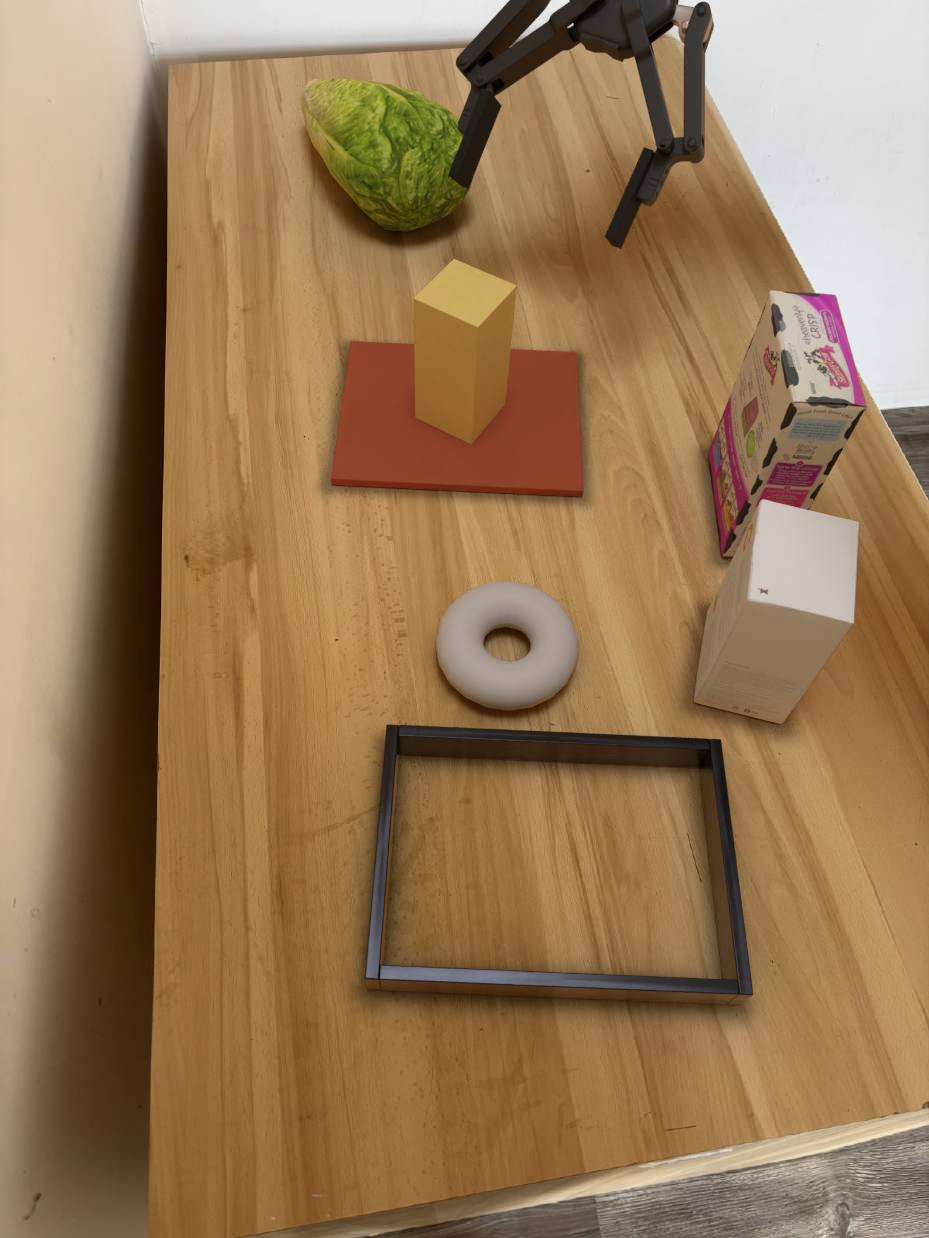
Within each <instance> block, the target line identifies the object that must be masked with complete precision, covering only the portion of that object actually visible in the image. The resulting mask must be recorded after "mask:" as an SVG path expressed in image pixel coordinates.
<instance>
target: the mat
mask: <svg viewBox="0 0 929 1238" xmlns="http://www.w3.org/2000/svg"><path fill="white" fill-rule="evenodd" d="M348 350H349V351H348V356H347V358H348V359H347V365H346V371H345V379H344V385H343V393H342V398H341V406H340V411H339V412H340V413H339V420H338V421H339V422H338V427H337V434H336V440H335V441H336V442H335V448H334V455H333V461H332V469H331V476H330V481H331V485H332V486H348V487H365V488H366V487H367V488H368V487H369V488H388V489H409V490H411V489H412V490H433V491H450V492H452V491H453V492H474V493H493V494H494V493H495V494H512V495H513V494H515V495H516V494H517V495H536V496H537V495H538V496H558V497H578V498H579V497H580V498H581V497H583V493H584V478H583V477H584V476H583V460H582V458H583V457H582V453H583V452H582V435H581V433H582V431H581V414H580V413H581V412H580V391H579V370H578V368H579V367H578V353H577V352H576V351H563V350H561V351H560V350H541V349H539V350H538V349H523V348H522V349H519V348H511V351H510V361H509V371H508V382H507V392H506V402H505V406H504V407H503V408H502V409H501V410H500V411H499V413H498V414H497V415H496V416H495V417H494V418H493V420H492V421H491V422H490V423H489V424H488V426H487V427H486V428H485V429H484V430H483V431H482V433H481V434H480V435H479V436H478V437H477V439H476V440H475V441H474V442H473V443H472V444H469V443H467V442H465V441H463V440H461V439H459V438H457V437H454V436H452V435H450V434H448V433H446V432H444V431H442V430H440V429H438V428H436V427H434V426H432V425H430V424H428V423H426V422H423V421H421V420H419V419H417V418H416V417H415V359H414V343H402V342H401V343H399V342H377V341H358V340H350V345H349V349H348Z"/></svg>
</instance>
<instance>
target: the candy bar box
mask: <svg viewBox="0 0 929 1238" xmlns="http://www.w3.org/2000/svg"><path fill="white" fill-rule="evenodd" d="M867 408H868V405H867V400H866V397H865V393H864V390H863V387H862V383H861V380H860V377H859V373H858V370H857V366H856V363H855V359H854V355H853V351H852V348H851V344H850V341H849V337H848V334H847V330H846V327H845V322H844V319H843V315H842V312H841V309H840V305H839V300H838V297H837V295H836V294H832V293H818V292H799V291H798V292H796V291H787V290H783V291H782V290H770V291H769V292H768V296H767V298H766V302H765V304H764V306H763V309H762V312H761V314H760V318H759V320H758V322H757V325H756V327H755V329H754V333H753V335H752V337H751V340H750V342H749V345H748V347H747V350H746V353H745V356H744V358H743V360H742V363H741V366H740V368H739V372H738V374H737V376H736V379H735V382H734V385H733V388H732V390H731V393H730V395H729V398H728V400H727V403H726V405H725V408H724V410H723V413H722V416H721V418H720V421H719V423H718V426H717V429H716V432H715V433H714V438H713V440H712V442H711V444H710V447H709V449H708V452H707V455H708V457H707V458H708V462H709V470H710V476H711V483H712V490H713V498H714V505H715V513H716V522H717V528H718V536H719V543H720V551H721V552H720V553H721V557H723V558H729V559H730V558H731V559H733V557H734V555H735V553H736V551H737V549H738V546H739V544H740V542H741V540H742V538H743V536H744V534H745V532H746V530H747V528H748V526H749V523H750V521H751V519H752V517H753V515H754V513H755V511H756V509H757V507H758V505H759V503H760V501H761V500H762V499H765V500H768V501H772V502H776V503H781V504H785V505H789V506H793V507H797V508H802V509H806V510H810V508H811V507H812V505H813V504H814V502H815V500H816V498H817V496H818V494H819V492H820V490H821V488H822V487H823V485H824V483H825V482H826V480H827V479H828V477H829V475H830V473H831V471H832V469H833V468H834V466H835V464H836V463H837V461H838V459H839V457H840V456H841V453H842V452H843V450H844V448H845V446H846V445H847V443H848V441H849V440H850V437H851V435H852V434H853V433H854V431H855V429H856V427H857V425H858V423H859V421H860V419H861V418H862V416H863V414H864V413H865V411H866V410H867Z"/></svg>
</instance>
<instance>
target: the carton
mask: <svg viewBox="0 0 929 1238" xmlns="http://www.w3.org/2000/svg"><path fill="white" fill-rule="evenodd" d="M517 288H518V286H517V284H515V283H512V282H510V281H507V280H506V279H503V278H500V277H498V276H497V275H494V274H491V273H489V272H486V271H484V270H481V269H479V268H476V267H474V266H472V265H470V264H467V263H465V262H463V261H460V260H458V259H456V258H454V259H452V260H451V261H450V262H449V263H448V264H447V265H446V266H444V268H443V269H442V270H441V271H439V273H438V274H436V275H435V277H433V279H432V280H431V281H430V282H429V283H427V285H426V286H424V288H422V289H421V290H420V292H419V293H418V294H417V295H415V297H413V344H414V359H415V417H416V418H417V419H419V420H421V421H423V422H426V423H428V424H430V425H432V426H434V427H436V428H438V429H440V430H442V431H444V432H446V433H448V434H450V435H452V436H454V437H457V438H459V439H461V440H463V441H465V442H467V443H469V444H472V443H473V442H474V441H475V440H476V439H477V437H478V436H479V435H480V434H481V433H482V431H483V430H484V429H485V428H486V427H487V426H488V424H489V423H490V422H491V421H492V420H493V418H494V417H495V416H496V415H497V414H498V413H499V411H500V410H501V409H502V408H503V407H504V406H505V402H506V392H507V382H508V371H509V361H510V351H511V349H512V339H513V328H514V319H515V310H516V309H515V308H516V299H517V298H516V297H517Z"/></svg>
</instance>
